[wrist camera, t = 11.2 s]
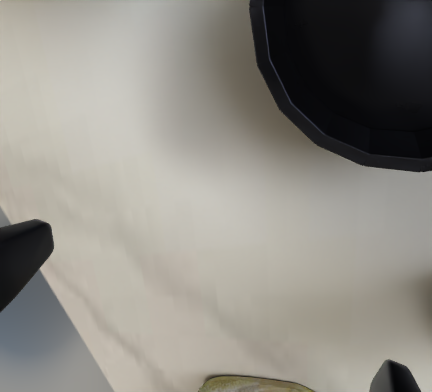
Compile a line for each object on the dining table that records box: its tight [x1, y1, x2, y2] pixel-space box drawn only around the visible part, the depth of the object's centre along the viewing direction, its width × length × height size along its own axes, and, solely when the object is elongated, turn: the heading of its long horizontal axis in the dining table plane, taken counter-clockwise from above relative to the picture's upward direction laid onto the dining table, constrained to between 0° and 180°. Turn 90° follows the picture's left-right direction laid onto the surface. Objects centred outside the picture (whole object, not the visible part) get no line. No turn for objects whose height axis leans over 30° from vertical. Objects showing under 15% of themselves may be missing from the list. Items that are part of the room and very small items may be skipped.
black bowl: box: [249, 0, 432, 172], centre depth 13 cm, size 12×12×4 cm
